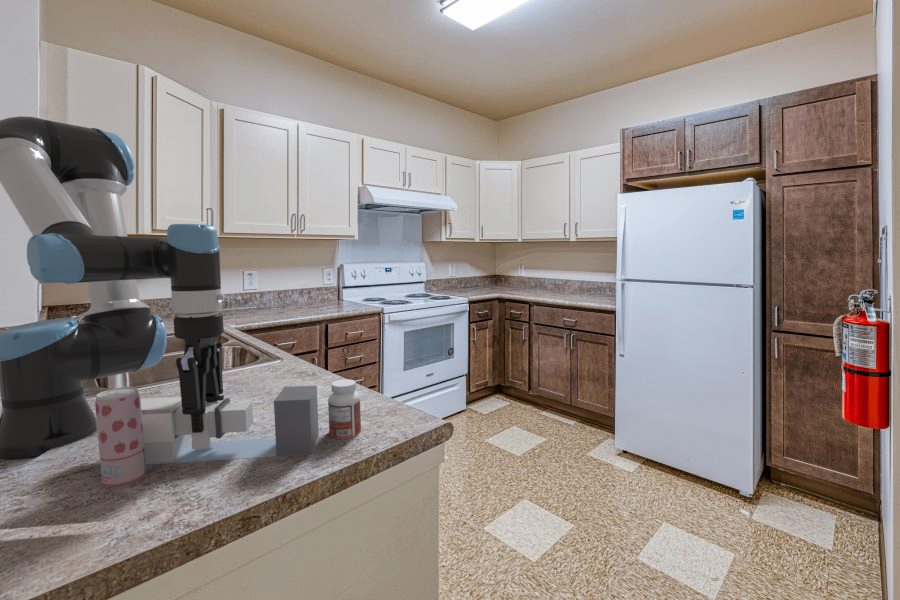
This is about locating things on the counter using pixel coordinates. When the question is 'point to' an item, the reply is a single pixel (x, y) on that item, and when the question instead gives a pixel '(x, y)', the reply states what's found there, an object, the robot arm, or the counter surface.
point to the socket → (296, 420)
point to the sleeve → (161, 429)
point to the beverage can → (120, 436)
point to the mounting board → (228, 451)
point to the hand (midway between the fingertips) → (206, 441)
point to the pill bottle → (344, 410)
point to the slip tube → (217, 418)
